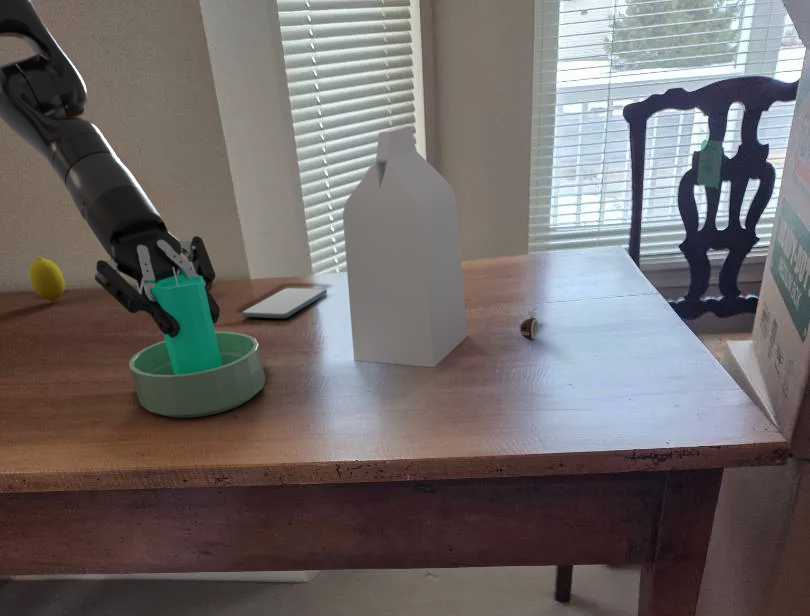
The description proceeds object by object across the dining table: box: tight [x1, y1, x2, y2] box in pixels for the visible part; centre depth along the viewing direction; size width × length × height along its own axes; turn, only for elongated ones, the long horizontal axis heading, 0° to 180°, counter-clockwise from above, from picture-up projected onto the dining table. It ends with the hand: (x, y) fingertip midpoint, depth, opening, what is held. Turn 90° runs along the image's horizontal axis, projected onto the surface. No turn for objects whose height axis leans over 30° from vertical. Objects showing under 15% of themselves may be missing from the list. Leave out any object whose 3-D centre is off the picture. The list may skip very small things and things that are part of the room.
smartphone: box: [241, 287, 328, 319], centre depth 120 cm, size 8×1×15 cm
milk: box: [342, 125, 469, 368], centre depth 92 cm, size 12×12×26 cm
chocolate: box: [519, 308, 540, 341], centre depth 97 cm, size 3×2×4 cm
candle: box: [151, 267, 223, 375], centre depth 85 cm, size 6×6×12 cm
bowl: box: [128, 331, 266, 419], centre depth 89 cm, size 15×15×6 cm
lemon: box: [28, 256, 66, 303], centre depth 133 cm, size 6×6×8 cm
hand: (195, 326), depth 84 cm, fingers closed on candle, 4 cm apart
